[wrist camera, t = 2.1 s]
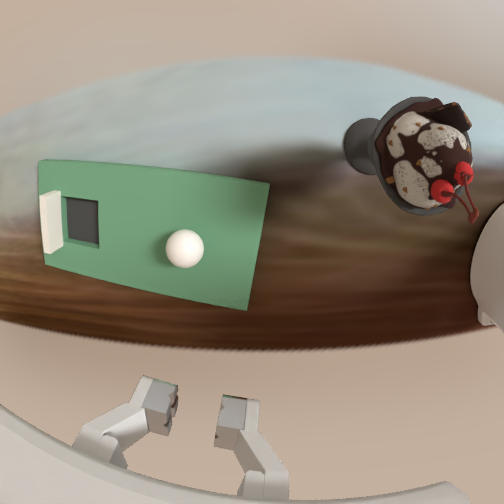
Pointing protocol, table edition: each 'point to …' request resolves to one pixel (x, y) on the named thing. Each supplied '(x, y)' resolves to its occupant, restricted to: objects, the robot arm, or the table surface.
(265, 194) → the green
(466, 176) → the sundae
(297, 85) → the table surface
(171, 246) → the ball
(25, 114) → the table surface
